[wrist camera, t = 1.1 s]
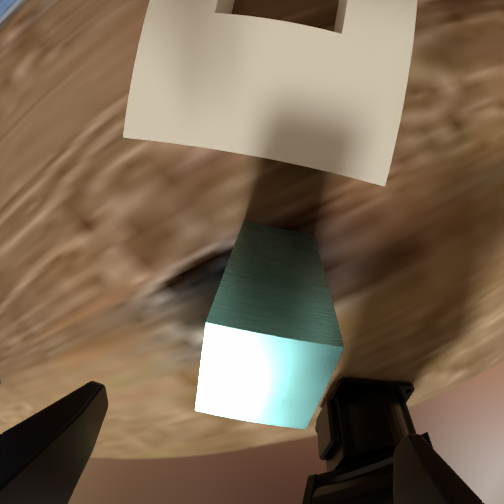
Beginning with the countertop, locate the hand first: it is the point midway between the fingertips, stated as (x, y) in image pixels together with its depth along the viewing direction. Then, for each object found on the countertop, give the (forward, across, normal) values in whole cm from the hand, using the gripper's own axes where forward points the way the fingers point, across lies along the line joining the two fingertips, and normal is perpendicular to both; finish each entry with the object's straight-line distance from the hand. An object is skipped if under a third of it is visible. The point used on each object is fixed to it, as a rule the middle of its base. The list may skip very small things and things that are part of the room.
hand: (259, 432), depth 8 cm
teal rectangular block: (+12, 0, 0) cm, 12 cm away
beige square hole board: (+12, +2, -15) cm, 19 cm away
